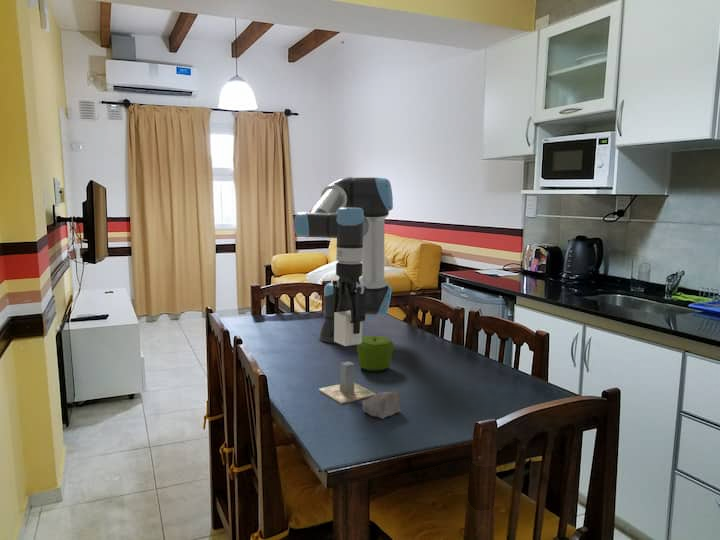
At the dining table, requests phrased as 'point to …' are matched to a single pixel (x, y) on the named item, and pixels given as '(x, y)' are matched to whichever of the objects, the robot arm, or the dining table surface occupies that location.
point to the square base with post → (347, 386)
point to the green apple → (375, 353)
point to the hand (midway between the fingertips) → (347, 341)
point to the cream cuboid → (344, 328)
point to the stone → (382, 404)
